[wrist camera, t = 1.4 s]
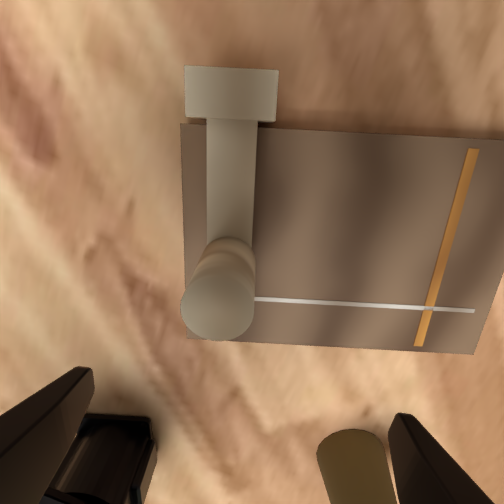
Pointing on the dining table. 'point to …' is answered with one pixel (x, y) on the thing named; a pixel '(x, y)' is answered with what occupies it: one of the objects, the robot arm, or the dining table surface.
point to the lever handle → (227, 195)
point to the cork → (355, 468)
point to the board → (364, 237)
